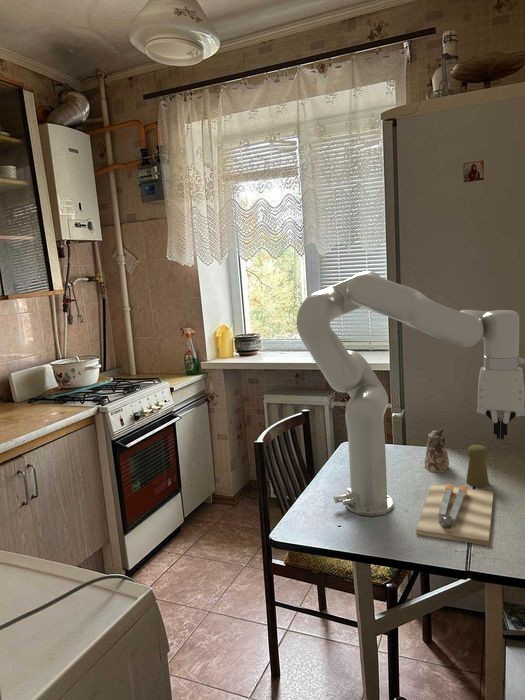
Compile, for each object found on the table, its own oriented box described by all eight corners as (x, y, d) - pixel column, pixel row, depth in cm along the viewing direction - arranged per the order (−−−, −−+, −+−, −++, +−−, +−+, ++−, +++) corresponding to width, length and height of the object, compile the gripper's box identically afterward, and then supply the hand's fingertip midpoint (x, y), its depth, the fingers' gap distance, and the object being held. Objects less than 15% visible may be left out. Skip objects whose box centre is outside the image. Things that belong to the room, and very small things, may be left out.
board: (488, 545, 119) (488, 540, 119) (416, 534, 126) (415, 529, 126) (493, 495, 142) (493, 491, 142) (431, 488, 149) (431, 484, 149)
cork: (485, 489, 146) (485, 451, 144) (463, 484, 150) (463, 448, 148) (491, 480, 151) (491, 444, 149) (469, 476, 154) (469, 441, 152)
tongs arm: (454, 529, 124) (454, 521, 123) (440, 527, 125) (440, 518, 125) (467, 493, 141) (467, 486, 141) (454, 491, 143) (454, 484, 142)
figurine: (419, 465, 165) (419, 429, 163) (438, 461, 167) (438, 425, 165) (434, 473, 158) (433, 435, 156) (453, 469, 160) (453, 431, 158)
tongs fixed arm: (445, 522, 127) (445, 514, 127) (437, 521, 128) (437, 513, 128) (453, 491, 143) (453, 484, 142) (446, 490, 144) (446, 483, 143)
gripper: (536, 360, 123) (534, 434, 127) (468, 359, 130) (468, 430, 133) (537, 367, 117) (535, 445, 120) (465, 365, 123) (465, 440, 126)
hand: (500, 437), depth 126 cm, fingers closed
